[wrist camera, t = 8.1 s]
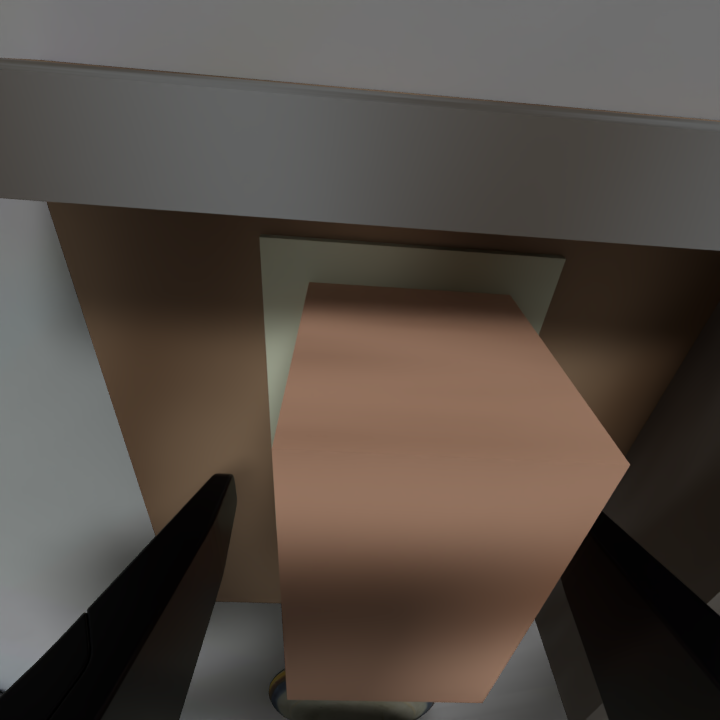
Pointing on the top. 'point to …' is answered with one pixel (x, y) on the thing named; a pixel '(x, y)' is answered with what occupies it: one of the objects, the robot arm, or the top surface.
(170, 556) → the robot arm
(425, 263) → the brown rimmed piece
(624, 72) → the top surface
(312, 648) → the block
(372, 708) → the apothecary jar
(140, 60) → the top surface
